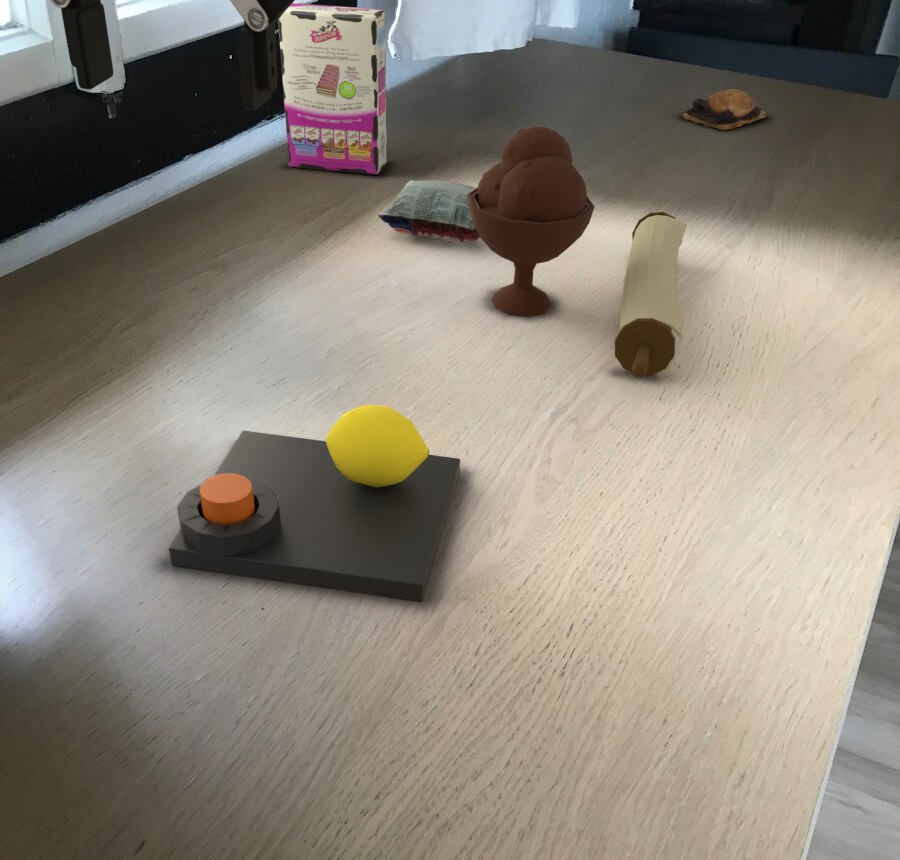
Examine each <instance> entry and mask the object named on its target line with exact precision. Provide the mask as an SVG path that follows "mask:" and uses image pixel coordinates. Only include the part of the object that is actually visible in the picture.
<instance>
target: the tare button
mask: <svg viewBox="0 0 900 860" xmlns="http://www.w3.org/2000/svg"><path fill="white" fill-rule="evenodd" d="M214 475H215V474H214ZM214 475H212V476H210V477H208V478H206V479H205V480H204V481H203V482H201V484H200V485H201V486H200V497H201V504H202V510H203V515H204V517H205V518H206V519H207V520H208V521H209V522H211V523H216V524H223V525H228V524H234V523H239V522H243V521H245V520H247V519H248V518H250V517H251V516H252V515H253V513H254V510H255V505H254V497H253V488H252V484H251V482H250V480H249V479H247V478H246V477H244V476H242V475H239V474H233V473H224V474H218V475H215V476H214Z"/></svg>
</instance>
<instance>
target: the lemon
mask: <svg viewBox="0 0 900 860" xmlns="http://www.w3.org/2000/svg"><path fill="white" fill-rule="evenodd" d="M325 441H326V443H327V447H328V450H329V453H330V455H331V457H332V459H333V461H334V463H335V465H336V467H337V469H338V470H339V471H340V472H342V473H343V474H344V475H345V476H346V477H347V478H348V479H349V480H351V481H355V482H358V483H361V484H365V485H369V486H372V487H376V488H378V487H383V486H389V485H394V484H396V483H399V482H401V481H403V480H405V479H406V478H407V477H408V476H409V475H410V474H411V473H412V472H413V471H414V470H415V469H416V468H417V467H418V466H419V465H420V464H421V463H422V462H423V461H424V460H425V459H426V458H427V457H428V455H430V449H429V448H428V446H427V443H426V442H425V441H424V439H423V437H422V435H421V434H420V433H419V431H418V429H417V428H416V426H415V425H414V423H413V422H412V421H411V420H410V419H409V418H407V417H405V415H403V414H401V413H400V412H398V411H397V410H395V409H394V408H391V407H390V406H388V405H378V404H377V405H375V404H367V405H361V406H358V407H356V408H353V409H350V410H348V411H346V412H343V414H342V415H341V416H340V417H339V418H338V419H337V421H335V423H333V425H332V427H331V429H330V430H329V431H328V433H327V435H326V437H325Z"/></svg>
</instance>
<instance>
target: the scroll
mask: <svg viewBox="0 0 900 860" xmlns="http://www.w3.org/2000/svg"><path fill="white" fill-rule="evenodd" d="M687 227H688V224H686V223H685V222H683V221H681V220H679V219H677V218H676V217H675V216H674V215H672V214H670V213H667V212H665V211H654V212H649V213H647V214H646V215H644V216H643V217H641V218H639V219H638V221H637V223H636V224H635V227H634V229H633V231H632V233H631V234H632V235H631V236H632V237H631V238H632V244H631V247H630V249H629V255H628V260H627V267H626V271H625V277H624V282H623V289H622V298H621V305H620V306H621V307H620V316H619V333H618V334H617V336H616V337H615V339H614V356H615V359H616V360H617V362H618V363H619V365H620V366H621V368H622V369H623V370H625V371H628V372H629V373H631V374H632V375H633V376H634V377H635V378H637V379H642V378H644V377H645V376H654V375H656V374H659V373H660V372H662V371H664V370H666V369H667V368H668V366H669V365H670V363H671V362H672V361H673V359H674V357H675V356H676V355H675V354H676V337H675V335H674V332H675V334H677V336H678V337H679V338H681V337H682V328H681V321H680V314H679V306H678V297H677V296H678V295H677V282H676V280H677V279H676V273H677V264H678V256H679V250H680V246H681V245H682V242H683V238H684V235H685V232H686V230H687Z"/></svg>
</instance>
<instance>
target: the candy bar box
mask: <svg viewBox="0 0 900 860" xmlns="http://www.w3.org/2000/svg"><path fill="white" fill-rule="evenodd" d="M277 23H278V35H279V39H278V40H279V48H280V60H281V61H280V62H281V63H280V64H281V76H282V91H283V103H284V116H285V131H286V132H285V133H286V147H287V159H288V166H289V167H292V168H301V169H311V170H321V171H331V172H332V171H333V172H341V173H354V174H355V173H356V174H364V175H374V176H377V175H378V174H380V172H381V171H382V169H384V167H385V166H386V164H387V162H388V143H387V141H388V140H387V81H386V80H387V75H386V74H387V69H386V68H387V63H386V60H387V59H386V57H387V55H386V52H387V51H386V10H385V9H379V8H365V7H354V6H338V5H324V4H310V3H295V2H293V3H292V4H291V5H290V6H289V7H288V9H287V10H286V11H285V12H284V13H283V14H282V16H281V17H280V19H278V20H277Z"/></svg>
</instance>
